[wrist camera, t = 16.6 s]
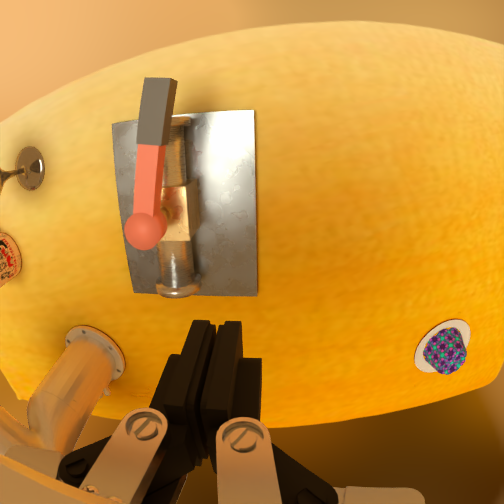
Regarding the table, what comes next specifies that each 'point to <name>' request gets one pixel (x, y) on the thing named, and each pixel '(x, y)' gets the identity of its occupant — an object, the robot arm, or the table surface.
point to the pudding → (444, 348)
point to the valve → (197, 206)
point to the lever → (151, 163)
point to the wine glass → (26, 169)
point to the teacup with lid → (8, 259)
